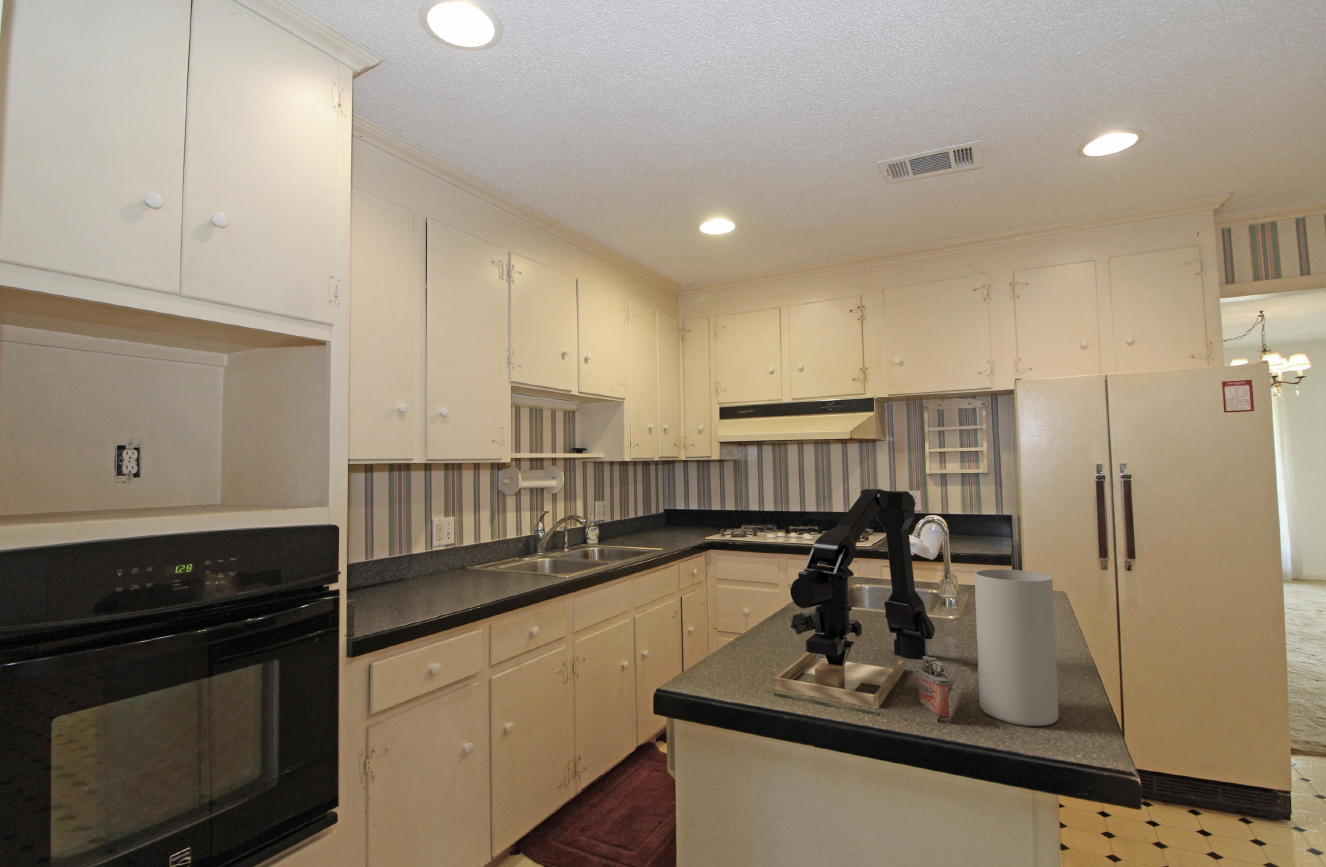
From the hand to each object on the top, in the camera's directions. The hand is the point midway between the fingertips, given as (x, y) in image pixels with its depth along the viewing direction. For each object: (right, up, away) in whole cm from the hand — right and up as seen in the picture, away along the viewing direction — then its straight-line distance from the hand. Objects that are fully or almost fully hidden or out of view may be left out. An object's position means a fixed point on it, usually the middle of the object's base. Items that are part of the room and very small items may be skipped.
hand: (836, 679), depth 125 cm
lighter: (+15, -2, -12) cm, 19 cm away
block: (-2, -1, -4) cm, 4 cm away
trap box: (+2, -3, +3) cm, 4 cm away
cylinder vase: (+30, -2, -12) cm, 32 cm away
